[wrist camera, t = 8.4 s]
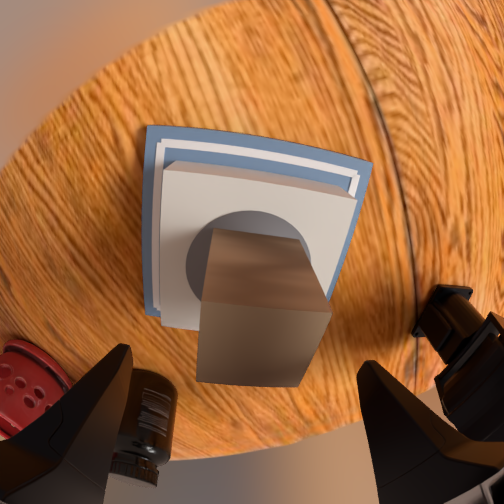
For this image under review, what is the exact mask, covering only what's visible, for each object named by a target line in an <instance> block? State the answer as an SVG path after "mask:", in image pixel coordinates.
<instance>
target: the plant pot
mask: <svg viewBox="0 0 504 504" xmlns="http://www.w3.org/2000/svg"><path fill="white" fill-rule="evenodd" d="M71 387H72V384H71V381H70V379H69V378H68V376H67V374H66V373H65V372H64V370H63V369H62V368H61V367H60V366H59V364H58V363H57V362H56V361H54V360H53V359H52V358H51V357H50V356H49V355H47V354H46V353H45V352H44V351H42V350H41V349H39V348H38V347H36V346H34V345H33V344H31V343H28V342H26V341H23V340H17V339H14V340H9V341H7V342H6V343H5V345H4V346H3V354H1V355H0V435H1V436H3V437H4V438H5V439H9V438H11V437H12V436H14V435H16V434H17V433H18V432H20V431H21V430H22V429H24V428H25V427H26V426H28V425H29V424H30V423H32V422H33V421H34V420H36V419H37V418H38V417H40V416H41V415H42V414H43V413H45V412H46V411H47V410H48V409H49V408H50V407H51V406H52V405H53V404H54V403H55V402H56V401H58V400H60V398H61V397H62V396H63V395H64V394H65V393H66V392H67V391H68V390H69V389H70V388H71ZM11 424H12V425H13V426H15V427H13V426H12V425H11Z"/></svg>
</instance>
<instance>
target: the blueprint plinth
mask: <svg viewBox="0 0 504 504" xmlns="http://www.w3.org/2000/svg"><path fill="white" fill-rule="evenodd" d="M372 166H373V163H371V162H369V161H366V160H363V159H359V158H356V157H352V156H348V155H345V154H341V153H337V152H333V151H329V150H325V149H321V148H317V147H312V146H308V145H303V144H299V143H294V142H289V141H284V140H278V139H273V138H267V137H262V136H256V135H249V134H243V133H236V132H228V131H220V130H212V129H202V128H192V127H180V126H165V125H147V134H146V144H145V156H144V170H143V189H142V270H143V289H144V304H145V315H150V316H156V317H161V326H166V327H173V328H180V329H188V330H195V331H199V323H200V310H201V299H202V293H203V287H204V280H205V274H206V268H207V263H208V257H209V251H210V245H211V240H212V234H213V229H214V228H219V229H227V230H234V231H242V232H249V233H257V234H264V235H271V236H278V237H285V238H292V239H299V240H300V242H301V244H302V246H303V248H304V250H305V253H306V255H307V257H308V259H309V261H310V263H311V265H312V267H313V270H314V272H315V274H316V276H317V278H318V280H319V283H320V285H321V287H322V289H323V292H324V294H325V296H326V298H327V300H328V303H329V300H330V298H331V295H332V292H333V290H334V287H335V284H336V282H337V279H338V276H339V274H340V271H341V268H342V265H343V262H344V259H345V257H346V254H347V251H348V248H349V245H350V242H351V239H352V236H353V232H354V229H355V226H356V223H357V220H358V216H359V213H360V210H361V206H362V203H363V199H364V196H365V192H366V189H367V185H368V181H369V178H370V174H371V170H372Z"/></svg>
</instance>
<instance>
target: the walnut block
mask: <svg viewBox="0 0 504 504" xmlns="http://www.w3.org/2000/svg"><path fill="white" fill-rule="evenodd" d="M332 314H333V312H332V310H331V307H330V305H329V303H328V300H327V298H326V296H325V294H324V292H323V289H322V287H321V285H320V283H319V280H318V278H317V276H316V274H315V272H314V270H313V267H312V265H311V263H310V261H309V259H308V257H307V255H306V253H305V250H304V248H303V246H302V244H301V242H300V240H299V239H292V238H285V237H278V236H271V235H264V234H257V233H249V232H242V231H234V230H227V229H219V228H214V229H213V234H212V240H211V245H210V251H209V257H208V263H207V268H206V274H205V280H204V287H203V293H202V299H201V310H200V323H199V337H198V353H197V372H196V382H205V383H214V384H225V385H238V386H256V387H298V386H299V384H300V382H301V380H302V378H303V376H304V374H305V372H306V370H307V368H308V366H309V364H310V362H311V360H312V358H313V356H314V354H315V352H316V350H317V347H318V345H319V343H320V341H321V339H322V337H323V334H324V332H325V330H326V328H327V325H328V323H329V321H330V319H331V316H332Z"/></svg>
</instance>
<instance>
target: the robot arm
mask: <svg viewBox="0 0 504 504" xmlns="http://www.w3.org/2000/svg"><path fill="white" fill-rule="evenodd" d="M472 293H473V289H472V288H470V287H461V286H449V285H439V286H437V288H436V289H435V291H434V293H433V295H432V297H431V299H430V301H429V303H428V304H427V306H426V308H425V310H424V312H423V314H422V315H421V317H420V319H419V321H418V322H417V324H416V326H415V327H414V329H413V331H412V333H411V334H412V336H413V337H426V338H427V339H428V341H429V342H430V344H431V345H432V347H433V348H434V350H435V351H437V352H438V354H439V355H440V357H441V359H442V360H443V362H444V363H445V365H447V364H448V365H447V367H446V368H445V369H444V370H443V371H442V372H441V373H440V374H439V375H437V376H436V377H435V378H434V380H435V384H436V388H437V391H438V394H439V398H440V401H441V405H442V409H443V413H444V415H445V416H446V417H447V418H448V420H449V421H450V422H452V423H453V424H454V425H455V427H456V428H457V430H458V431H457V430H456V429H454V428H453V427H451V426H450V425H448V424H447V423H446V422H445V421H443V420H442V419H441V418H440V417H439V416H438V415H436V414H435V413H434V412H433V411H432V410H430V408H428V407H427V406H426V405H425V404H424V403H423V402H422V401H421V400H419V399H418V398H417V397H416V396H415V395H414V394H413V393H411V392H410V391H409V390H408V389H407V388H406V387H405V386H404V385H402V384H401V383H400V382H399V381H398V380H397V379H396V378H394V377H393V376H392V375H391V374H390V373H389V372H388V371H387V370H385V369H384V368H383V367H382V366H381V365H380V364H379V363H377V362H376V361H375V360H367V361H365V362H364V363H363V365H362V366H361V368H360V369H359V371H358V373H357V377H356V378H357V385H358V393H359V400H360V407H361V412H362V417H363V421H364V425H365V430H366V434H367V439H368V444H369V448H370V453H371V458H372V463H373V469H374V474H375V479H376V485H377V491H378V498H379V504H504V318H503V317H501V316H499V315H497V314H495V313H493V312H491V311H490V312H489V314H488V315H487V316H488V317H487V318H486V319H484V318H483V317H482V316H481V314H480V313H479V312H478V311H477V310H476V309H475V308H474V306H473V305H472V304H471V303H470V302H469V301H468V300H469V299H470V297H471V295H472ZM499 333H500V336H499V337H498V335H499ZM132 367H133V357H132V352H131V347H130V346H129V345H127V344H122V343H120V344H118V345H117V346H116V347H114V348H113V349H112V350H111V351H110V352H109V353H108V354H107V355H106V356H105V357H104V358H102V359H101V360H100V361H99V362H98V363H97V364H96V365H95V366H94V367H93V368H92V369H91V370H89V371H88V372H87V373H86V374H85V375H84V376H83V377H82V378H81V379H80V380H79V381H78V382H77V383H76V384H75V385H73V386H72V387H71V388H70V389H69V390H68V391H67V392H66V393H65V394H64V395H63V396H62V397H61V398H60V400H58V401H56V402H55V403H54V404H53V405H52V406H51V407H50V408H49V409H48V410H47V411H46V412H45V413H43V414H42V415H41V416H40V417H38V418H37V419H36V420H34V421H33V422H32V423H30V424H29V425H28V426H26V427H25V428H24V429H22V430H21V431H20V432H18V433H17V434H16V435H14V436H12V437H11V438H9V439H6V440H3V441H0V504H103V501H104V495H105V489H106V484H107V479H108V474H109V470H110V465H111V460H112V456H113V452H114V448H115V443H116V439H117V435H118V431H119V428H120V424H121V420H122V416H123V413H124V409H125V406H126V402H127V397H128V391H129V384H130V379H131V373H132Z"/></svg>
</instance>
